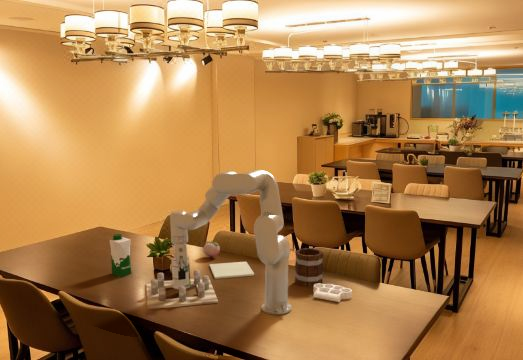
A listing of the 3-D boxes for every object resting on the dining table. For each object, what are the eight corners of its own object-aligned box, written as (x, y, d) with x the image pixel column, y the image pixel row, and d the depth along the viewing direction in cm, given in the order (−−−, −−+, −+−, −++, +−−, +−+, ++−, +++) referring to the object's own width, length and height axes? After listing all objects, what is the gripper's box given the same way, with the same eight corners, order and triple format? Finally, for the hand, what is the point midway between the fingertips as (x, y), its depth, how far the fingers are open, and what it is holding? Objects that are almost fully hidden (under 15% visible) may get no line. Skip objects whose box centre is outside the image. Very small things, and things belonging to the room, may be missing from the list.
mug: (321, 288, 233) (322, 257, 231) (292, 285, 236) (293, 255, 233) (324, 274, 252) (325, 245, 250) (298, 272, 255) (298, 244, 252)
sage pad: (254, 275, 249) (254, 273, 249) (214, 278, 245) (214, 276, 245) (246, 263, 269) (246, 261, 269) (209, 266, 264) (209, 264, 264)
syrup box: (181, 290, 221) (180, 259, 219) (172, 288, 225) (171, 257, 223) (191, 287, 226) (189, 256, 224) (181, 284, 230) (180, 254, 227)
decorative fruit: (200, 259, 276) (200, 241, 274) (206, 254, 283) (206, 238, 282) (216, 260, 273) (216, 243, 271) (221, 256, 281) (221, 239, 279)
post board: (218, 302, 215) (217, 287, 214) (147, 309, 208) (146, 293, 207) (208, 279, 244) (208, 265, 243) (146, 284, 237) (145, 270, 236)
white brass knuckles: (306, 298, 222) (318, 287, 235) (345, 305, 214) (355, 294, 227) (306, 290, 221) (318, 280, 234) (345, 298, 213) (355, 287, 226)
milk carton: (123, 269, 258) (121, 232, 255) (134, 273, 252) (133, 235, 249) (108, 274, 251) (107, 236, 248) (120, 278, 245) (118, 239, 242)
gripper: (189, 242, 215) (191, 281, 217) (186, 233, 231) (187, 269, 234) (172, 244, 213) (174, 283, 215) (170, 234, 230) (171, 271, 232)
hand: (181, 276), depth 225 cm, fingers closed on syrup box, 7 cm apart
